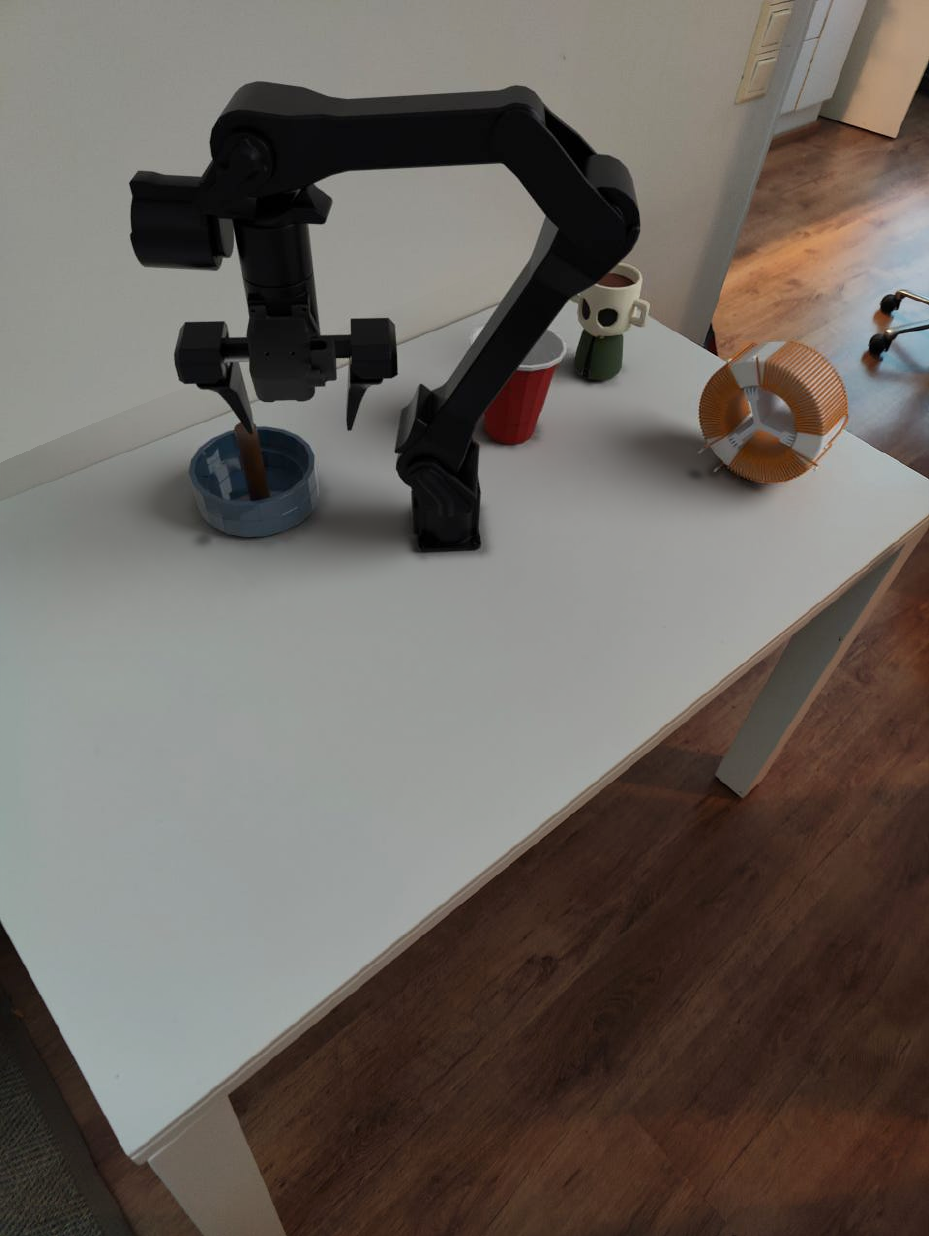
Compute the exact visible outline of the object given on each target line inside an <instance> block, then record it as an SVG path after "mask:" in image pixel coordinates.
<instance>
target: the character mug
mask: <svg viewBox="0 0 929 1236" xmlns="http://www.w3.org/2000/svg"><path fill="white" fill-rule="evenodd" d="M642 285H643V275H642V273H641V272H640V270H638V268H636V267H634V266H632V265H630V264H628V263H625V262H620V263H619V264H618V265H617V266H616V267H614V268H613V269H612V270H611V271H610V272H609V273H608V274H607V275H606V276H605V277H604V278H603V279H602V280H601V281H600V282H599V283H597V284H595V285H594V286H592V287H590V288H588V289H586V290H585V291H583V292H581V293H579V294H577V295H575V296H574V297H572V298H571V299H570V300H569V301H571V302H572V303H575V304H577V310H576V314H577V321H578V323H579V325H580V326H581V327H582V330H581V334H580V337H579V341H578V344H577V346H576V350H575V353H574V358H573V362H572V364H573V369H574V371H576V373H578V375H580V376H583V374H584V369H585V370H586V371H587V372H588V374H587V375H588V376H587V379H590V380H595V381H596V380H597V381H605V380H611V379H613V378H614V377H616V376H617V375H618V374H619V373H620V372H621V370H622V368H623V359H624V338H625V337H624V334H625V333H626V332H628V331H629V330H630V329H631V328H632V326H635V327H637V328H645V327H646V326H647V322H648V319H649V318H648V317H649V314H650V313H649V312H650V309H651V306H650V302H648V300H647V301H646V300H644V299H641V298H640V297H641V296H640V294H641V290H642ZM637 309H640V313H639V314H640V315H639V317H637V316H636V314H637Z"/></svg>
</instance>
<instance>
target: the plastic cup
mask: <svg viewBox="0 0 929 1236" xmlns="http://www.w3.org/2000/svg"><path fill="white" fill-rule="evenodd" d="M485 325H486V323H483V324H481V325H479V326H476V327H475V328H474V329H473V331H472V332H471V333H470V334H469V346H470V347H471V345H472V344H473V342H474V341H475V339H476V338H477V336H478V335H479V334H480V332H481V331H482V329H483V328H484V326H485ZM567 347H568V346H567V343H566V340H565V339H564V338H563V337H562V336H561V335H559V333H558V332H556V331H555V330H552V329H551V328H549V327H548V328H547V330H546V331H545V332H544V334H543V335H542V336H541V338H540V339H539V340H538V342H537V343H536V344H535V346H534V347H533V348H532V350H531V351H530V352H529V354H528V355H527V356H526V358H525V359H524V360H523V362H522V363H521V364H520V366H519V367H518V369H517V370H516V371H515V373H514V374H513V375H512V377H511V378H510V379H509V381H508V382H507V383H506V385H505V386H504V387H503V389H502V390H501V391H500V393H499V394H498V395H497V397H496V398H495V399H494V401H493V402H492V403H491V405H490V406H489V407H488V409H487V410H486V411H485V413H484V414H483V421H484V429H485V431H486V434H487V435H488V437H489V438H490V439H491V440H493V441H495V442H496V443H499V444H503V445H513V446H514V445H519V444H523V443H525V442H527V441H528V440H530V439H531V437H532V436H533V434H534V432H535V430H536V427H537V425H538V421H539V418H540V414H541V413H542V411H543V408H544V404H545V401H546V398H547V395H548V392H549V390H550V389H549V388H550V386H551V383H552V380H553V377H554V375H555V373H556V371H557V368H558V366H559V364H560V363H561V362H562V360H563V358H565V355H566V354H567V351H568V348H567Z"/></svg>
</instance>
